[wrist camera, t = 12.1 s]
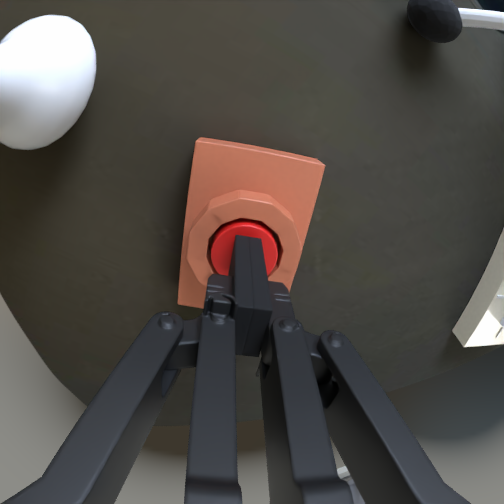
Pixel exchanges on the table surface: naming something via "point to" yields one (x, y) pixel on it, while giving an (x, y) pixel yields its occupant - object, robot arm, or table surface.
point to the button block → (245, 206)
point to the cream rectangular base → (485, 306)
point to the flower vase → (44, 80)
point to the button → (243, 227)
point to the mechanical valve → (448, 19)
